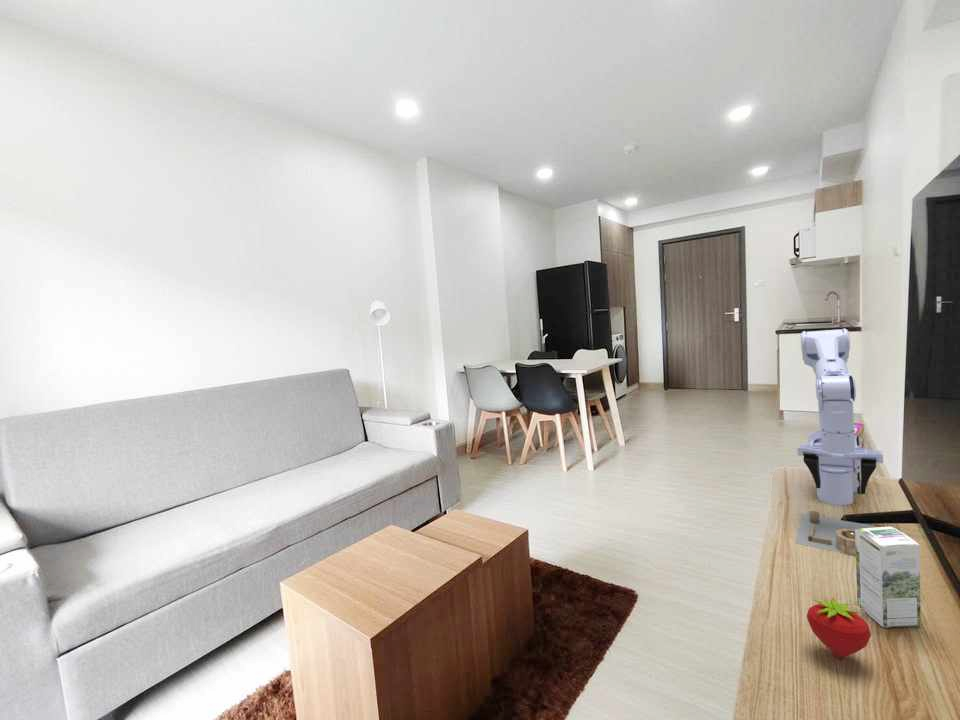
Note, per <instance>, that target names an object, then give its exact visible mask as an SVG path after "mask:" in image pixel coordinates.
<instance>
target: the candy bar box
mask: <svg viewBox="0 0 960 720" xmlns="http://www.w3.org/2000/svg"><path fill="white" fill-rule="evenodd" d="M854 437H855V438H856V441H857V446H858V448H861V449H866V448H865V424H864V423H856V422H854ZM852 480H853V493H854V494H853V495H861V460H859V466H858V467H857V468H853V472H852Z"/></svg>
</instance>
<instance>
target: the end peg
mask: <svg viewBox="0 0 960 720" xmlns="http://www.w3.org/2000/svg"><path fill="white" fill-rule="evenodd" d="M846 537H847V538H851V539H855V531H851V530H848V531H846Z"/></svg>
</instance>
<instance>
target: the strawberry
mask: <svg viewBox="0 0 960 720" xmlns="http://www.w3.org/2000/svg"><path fill="white" fill-rule="evenodd" d="M814 602H816V603H818V604H813V605H812V606H810V607H809V608H808V610H807V614H806V619H807V622H808V624H809V627H810V629H811V631H812V632H813V634H814V635H815V636H816V637H817V638H818V639H819V640H820V642H821V643H822V644H823V645H824V646H825V647H826V648H827V649H828V650H829V651H830V652H831V653H832V655H834V656H835V657H837V658H840V659H845V658H847V657H848V656H850V655H854V654H856V653H858V652H860V651H861V650H863V649H864V648H866V647H867V645H868V643H869V640H870V638H871V637H872V633H871V629H870V626H869V625H868V623H867V622H866V621H865V620H864V619H863V618H862V617H861V616H860V615H858V614H860V612H859V611H856V610H852V609H850V608H848V606H849V604H839V603H838V602H837V599H836V598H835V597H832V599H831V600H830V601H828V600H826V599H824V600H823V601H822V600H817V599H814Z"/></svg>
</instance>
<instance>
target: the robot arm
mask: <svg viewBox="0 0 960 720" xmlns="http://www.w3.org/2000/svg"><path fill="white" fill-rule="evenodd" d="M800 345H801V346H800V347H801V348H800V349H801V354H802V361H803V365H806V366H808V367H812V370H813V372H814V374H815V394H816V399H817V405H818V418H819V419H818V420H819V428H818V429H816V430H815V431H813V432H811V433H810V434H809V435H808V437H807V444H805V445H804V444H798V445H797V450H796V451H797V456H801V457H803V458H802V459H803V462H804V464H805V465H806V467H807V468H808V470H809V471H810V474H811V476H812V478H813V481H814V484H815V488H816V496H817V499H818V500H819V501H821V502H823V503H826V504H829V505H836V506H848V505H852V504H854V495H855V494H854V493H853V480H852V472H853V468H857V467H858V466H859V460H861V494H862V495H866V489H867V486H868V484H869V483H868V482H869V481H870V478H871V476H872V475H873V473H874V472H875V470H876V468H877V463H879V464H883V463H884V454H883V453H884V451H882V450H873V449H866V448H865V449H861V448H858V446H857V441H856V438H855V437H854V423H855V421H854V420H855V419H854V416H855V415H854V402H856V397H857V389H856V388H857V387H856V381H855V378H854V376H853V374H852V373H849V370H848V365H847V363H848V359H849V356H850V350H851V337H850V332H849V330H848V329H846V328H842V329H825V330H813V331H812V330H811V331H806V330H804V331H802V332H801V333H800ZM861 494H860V495H861Z"/></svg>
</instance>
